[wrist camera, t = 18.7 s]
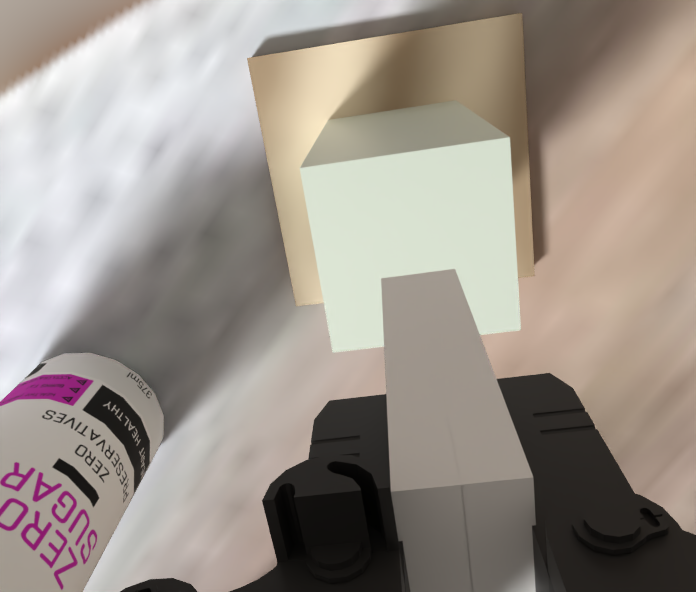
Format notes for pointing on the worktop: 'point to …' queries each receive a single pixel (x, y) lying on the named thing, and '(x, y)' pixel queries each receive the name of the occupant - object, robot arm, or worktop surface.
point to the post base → (383, 95)
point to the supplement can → (70, 467)
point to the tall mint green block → (411, 214)
